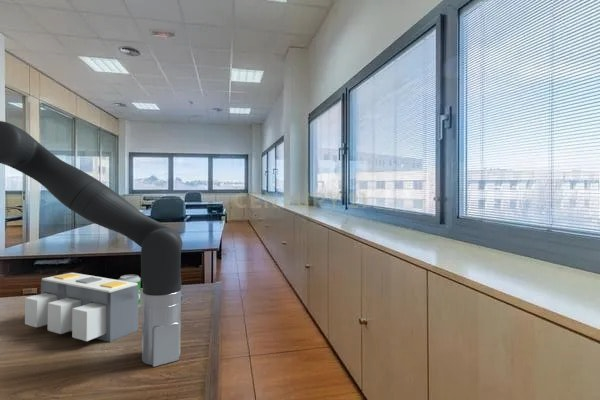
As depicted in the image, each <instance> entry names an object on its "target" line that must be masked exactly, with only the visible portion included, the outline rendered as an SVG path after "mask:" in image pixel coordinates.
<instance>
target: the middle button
mask: <svg viewBox="0 0 600 400" xmlns="http://www.w3.org/2000/svg"><path fill="white" fill-rule="evenodd" d="M80 306H81V299H77V298H72V297H69V298H65V299H61V300H57V301H53V302H50V303H48V325H47V331H48V332H52V333H55V334H59V335H62V334H65V333H68V332H71V330H72V309H73V308H76V307H80Z"/></svg>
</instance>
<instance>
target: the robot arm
mask: <svg viewBox="0 0 600 400" xmlns="http://www.w3.org/2000/svg"><path fill="white" fill-rule="evenodd" d="M0 164H2V165H5V166H8V167H10V168H12V169H14V170H16V171H19V172H21V173H22V174H24V175H26V176H27V177H29V178H31V179H32V180H34V181H36V182H38V183H39V184H41V185H42V187H44V188H45V189H46V190H47V191H48V192H49V193H50V194H51V195H52V196H53V197H54V198H56V199H57V201H59V202H60V203H61V204H63V205H64V206H65V207H66V208H68V209H69V210H71V211H73V212H74V213H75V214H77V215H79V216H80V217H82V218H83V219H86V220H87V221H89V222H91V223H93V224H95V225H98V226H100V227H101V228H105V229H107V230H111V231H113V232H116V233H118V234H119V235H122V236H124V237H126V238H128V239H129V240H131V241H132V242H133V243H135V244H136V245H137V246H139V247H140V248H141V250H140V279H141V285H142V307H141V308H142V313H141V315H142V316H141V318H142V319H141V323H142V324H141V326H142V327H141V329H142V330H141V332H142V333H141V362H143V363H144V364H146V365H150V366H152V367H158V366H162V365H165V364H169V363H172V362H177V361H179V359H180V356H181V332H182V331H181V328H182V327H181V326H182V325H181V324H182V323H181V322H182V321H181V320H182V318H181V315H182V313H181V311H182V310H181V309H182V305H181V304H182V275H181V272H182V271H181V269H182V268H181V266H182V264H181V263H182V261H181V260H182V259H181V255H182V249H183V239H182V237H181V235H180V234H179V233H178V232H177V231H176V230H174V229H173V228H171V227H169V226H167V225H165V224H163V223H162V222H159V221H157V220H155V219H154V218H152V217H150V216H148V215H146V214H145V213H144V212H141V211H140V210H139V209H138V208H136V207H135V206H134V205H133V204H132V203H131V202H129V200H126V199H125V198H124V197H123V196H121V195H120V194H118V193H117V192H116V191H115V190H114V189H112V188H111V187H109V186H107V185H106V184H104V183H103V182H101V181H100V180H99V179H97V178H95V177H94V176H91V175H90V174H89V173H87V172H86V171H83V170H81V169H79V168H78V167H75V166H73V165H71V164H70V163H68V162H65V160H64V161H63V160H62V159H60V158H59V157H58V156H56V155H55V154H54V153H52V152H51V151H50V150H48V149H47V148H46V147H44V145H42V144H41V143H40V142H38V141H37V140H36V138H34V137H33V136H31V135H30V134H29V133H28V132H27V131H25V130H24V129H22V128H20V127H18V126H16V125H14V124H12V123H11V122H8V121H4V120H3V121H2V120H0Z"/></svg>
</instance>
